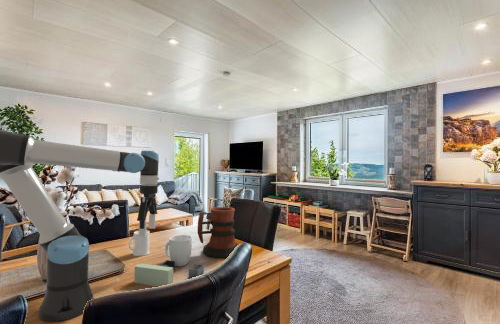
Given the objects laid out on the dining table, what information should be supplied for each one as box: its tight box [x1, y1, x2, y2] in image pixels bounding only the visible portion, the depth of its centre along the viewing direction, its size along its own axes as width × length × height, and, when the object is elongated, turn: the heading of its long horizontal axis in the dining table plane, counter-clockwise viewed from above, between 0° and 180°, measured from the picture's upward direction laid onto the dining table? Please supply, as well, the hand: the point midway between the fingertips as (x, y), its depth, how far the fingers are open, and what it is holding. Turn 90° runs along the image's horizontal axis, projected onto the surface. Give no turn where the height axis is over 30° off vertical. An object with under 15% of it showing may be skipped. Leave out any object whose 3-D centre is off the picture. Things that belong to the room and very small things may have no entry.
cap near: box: [188, 263, 205, 279], centre depth 116 cm, size 6×4×4 cm
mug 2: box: [164, 234, 193, 267], centre depth 131 cm, size 15×11×13 cm
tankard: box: [197, 206, 239, 260], centre depth 149 cm, size 22×25×25 cm
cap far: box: [158, 259, 176, 271], centre depth 120 cm, size 6×4×4 cm
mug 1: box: [128, 229, 150, 257], centre depth 143 cm, size 12×8×12 cm
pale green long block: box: [133, 263, 174, 287], centre depth 108 cm, size 4×16×7 cm, turn 75°
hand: (147, 232), depth 117 cm, fingers open, 13 cm apart
